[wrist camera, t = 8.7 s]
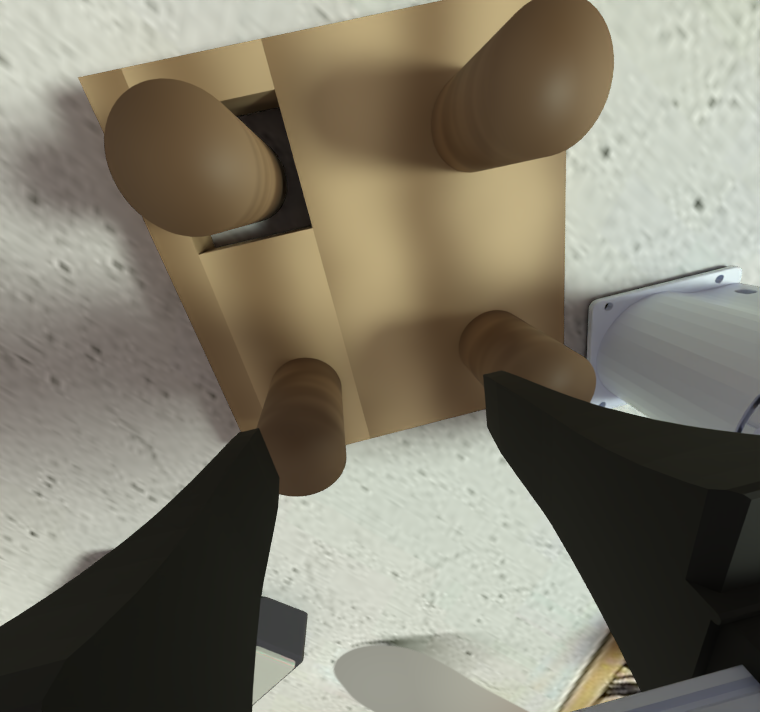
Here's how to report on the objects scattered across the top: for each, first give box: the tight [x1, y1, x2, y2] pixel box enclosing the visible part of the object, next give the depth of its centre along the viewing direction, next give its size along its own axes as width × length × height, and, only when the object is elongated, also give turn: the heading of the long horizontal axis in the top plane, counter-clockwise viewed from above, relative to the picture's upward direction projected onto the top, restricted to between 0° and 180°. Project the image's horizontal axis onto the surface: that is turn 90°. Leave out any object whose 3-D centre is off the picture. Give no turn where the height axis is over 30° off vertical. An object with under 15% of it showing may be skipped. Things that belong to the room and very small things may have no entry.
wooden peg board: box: [79, 0, 614, 496], centre depth 15 cm, size 18×18×8 cm
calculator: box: [252, 597, 307, 706], centre depth 26 cm, size 11×4×15 cm
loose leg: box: [104, 78, 287, 237], centre depth 13 cm, size 4×4×8 cm
